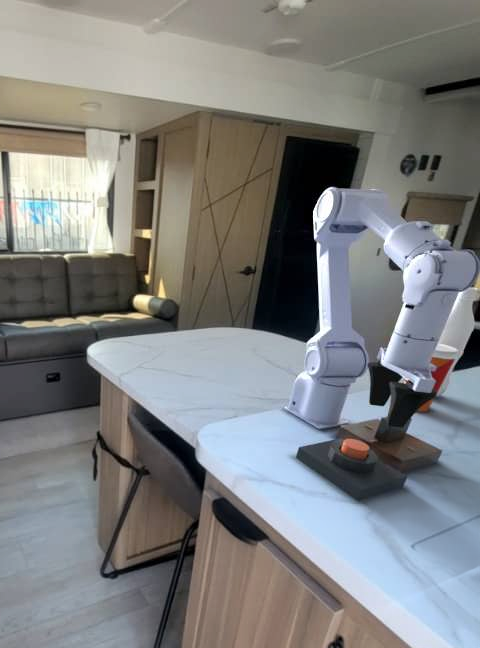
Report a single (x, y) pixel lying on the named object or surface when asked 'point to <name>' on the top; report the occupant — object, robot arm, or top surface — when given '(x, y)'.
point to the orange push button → (355, 448)
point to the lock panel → (392, 446)
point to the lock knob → (390, 431)
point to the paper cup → (440, 367)
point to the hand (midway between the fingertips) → (385, 414)
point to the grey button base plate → (351, 469)
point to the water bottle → (458, 328)
